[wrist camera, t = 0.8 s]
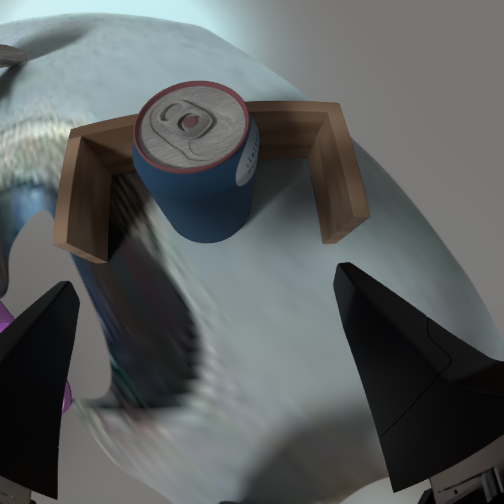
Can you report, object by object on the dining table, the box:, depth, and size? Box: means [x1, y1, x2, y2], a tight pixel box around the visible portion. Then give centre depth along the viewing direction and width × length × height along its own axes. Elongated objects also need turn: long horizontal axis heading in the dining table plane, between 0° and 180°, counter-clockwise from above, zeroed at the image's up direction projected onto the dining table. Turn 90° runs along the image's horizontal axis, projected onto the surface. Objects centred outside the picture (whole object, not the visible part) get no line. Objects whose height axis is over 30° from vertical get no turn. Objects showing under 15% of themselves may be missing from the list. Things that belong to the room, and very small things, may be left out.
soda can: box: [132, 81, 259, 243], centre depth 19 cm, size 7×7×12 cm
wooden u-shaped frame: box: [53, 101, 370, 263], centre depth 21 cm, size 9×21×7 cm, turn 95°
